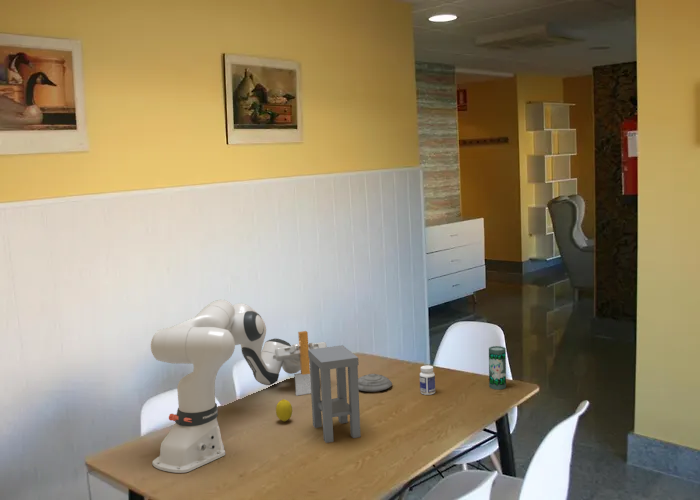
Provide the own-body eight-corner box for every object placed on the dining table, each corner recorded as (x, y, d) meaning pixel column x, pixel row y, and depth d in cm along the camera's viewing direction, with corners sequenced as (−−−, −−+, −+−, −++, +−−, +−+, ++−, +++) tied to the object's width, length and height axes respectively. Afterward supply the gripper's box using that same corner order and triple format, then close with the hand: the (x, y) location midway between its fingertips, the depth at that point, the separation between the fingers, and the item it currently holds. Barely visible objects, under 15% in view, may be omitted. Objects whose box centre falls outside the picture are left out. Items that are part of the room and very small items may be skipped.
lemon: (290, 425, 224) (288, 402, 223) (274, 424, 225) (273, 401, 224) (294, 418, 229) (293, 396, 228) (279, 418, 230) (278, 396, 229)
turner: (315, 391, 256) (317, 393, 254) (295, 394, 254) (297, 396, 251) (312, 330, 254) (313, 331, 252) (291, 332, 252) (293, 333, 249)
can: (488, 388, 251) (488, 350, 249) (490, 383, 257) (489, 345, 255) (505, 389, 249) (504, 350, 247) (506, 384, 255) (506, 346, 253)
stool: (361, 437, 211) (358, 357, 208) (325, 443, 208) (321, 362, 204) (346, 419, 226) (342, 345, 223) (311, 425, 223) (308, 349, 220)
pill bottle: (435, 390, 252) (434, 364, 251) (435, 395, 247) (434, 369, 245) (419, 390, 253) (419, 364, 252) (420, 395, 247) (419, 369, 246)
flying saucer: (347, 385, 262) (346, 372, 261) (381, 379, 268) (380, 366, 268) (364, 397, 249) (363, 382, 248) (399, 389, 255) (398, 376, 254)
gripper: (270, 351, 261) (275, 341, 249) (320, 344, 267) (328, 334, 255) (273, 366, 259) (278, 357, 247) (323, 359, 265) (331, 350, 253)
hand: (304, 345), depth 251 cm, fingers open, 4 cm apart
